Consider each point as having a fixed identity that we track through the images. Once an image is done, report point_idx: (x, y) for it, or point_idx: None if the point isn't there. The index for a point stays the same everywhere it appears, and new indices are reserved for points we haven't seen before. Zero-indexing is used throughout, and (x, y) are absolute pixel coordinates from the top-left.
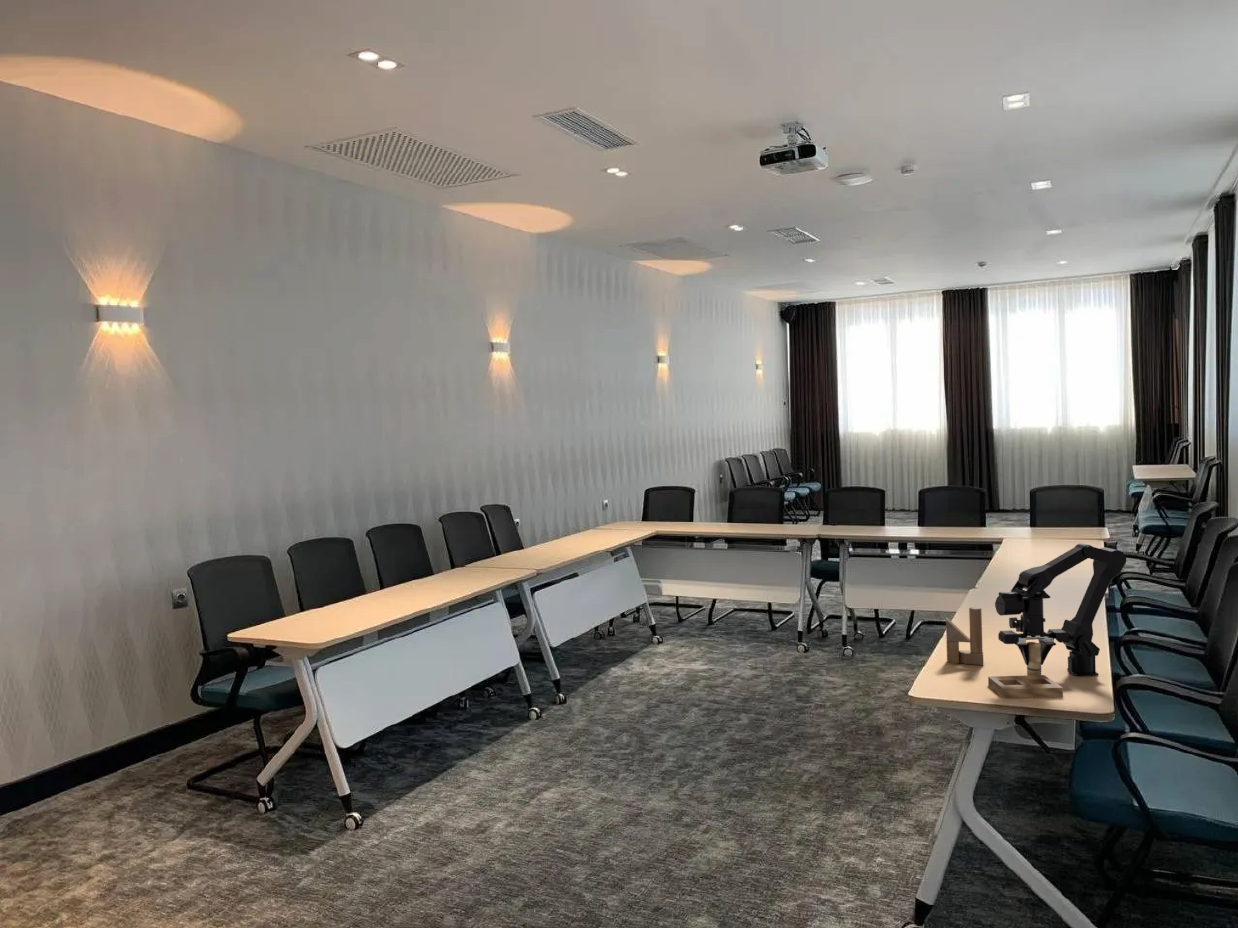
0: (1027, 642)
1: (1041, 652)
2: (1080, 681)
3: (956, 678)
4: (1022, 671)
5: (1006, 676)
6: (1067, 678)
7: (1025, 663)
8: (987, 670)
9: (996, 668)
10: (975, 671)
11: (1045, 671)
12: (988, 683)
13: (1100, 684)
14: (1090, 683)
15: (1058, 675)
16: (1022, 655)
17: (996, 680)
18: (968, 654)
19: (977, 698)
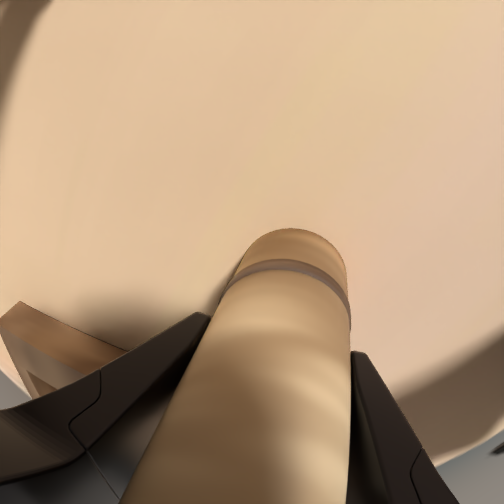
0: None
1: (349, 487)
2: (451, 413)
3: None
4: (282, 121)
5: (51, 360)
6: (450, 370)
7: (191, 318)
8: (52, 55)
9: (121, 3)
10: (3, 78)
11: (469, 197)
12: (15, 305)
13: (470, 444)
14: (455, 434)
15: (463, 313)
16: (121, 366)
17: (23, 369)
18: None
19: (9, 369)
